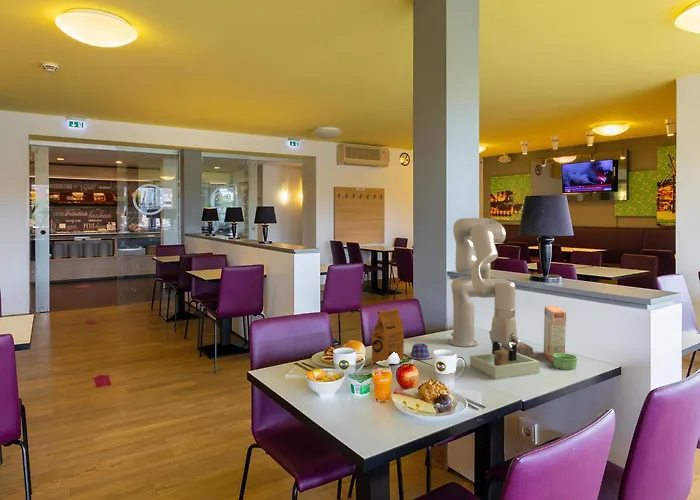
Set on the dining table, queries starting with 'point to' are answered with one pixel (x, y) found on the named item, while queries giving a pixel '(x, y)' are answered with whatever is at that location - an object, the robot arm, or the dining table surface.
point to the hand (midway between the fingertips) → (504, 357)
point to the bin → (504, 366)
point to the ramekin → (564, 361)
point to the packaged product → (521, 350)
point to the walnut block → (501, 358)
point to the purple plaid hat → (420, 352)
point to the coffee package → (388, 336)
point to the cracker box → (554, 331)
